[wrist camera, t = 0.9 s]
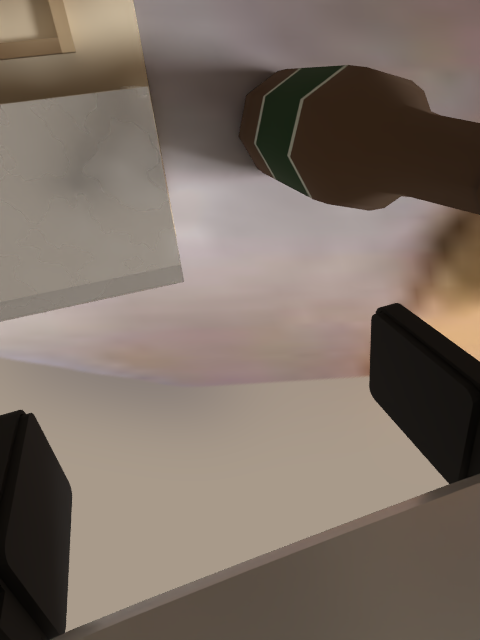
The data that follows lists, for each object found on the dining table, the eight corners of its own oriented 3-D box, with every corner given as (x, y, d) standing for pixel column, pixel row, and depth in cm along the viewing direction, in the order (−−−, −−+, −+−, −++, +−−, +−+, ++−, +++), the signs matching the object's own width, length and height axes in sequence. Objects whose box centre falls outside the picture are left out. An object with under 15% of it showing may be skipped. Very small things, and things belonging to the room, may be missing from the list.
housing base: (-293, -184, 20) (-337, -215, 18) (97, -183, 24) (98, -208, 22) (-61, 278, 32) (-72, 291, 30) (174, 232, 36) (179, 242, 34)
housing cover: (-132, 117, 26) (-220, 131, 19) (134, 85, 29) (148, 86, 22) (-51, 281, 32) (-94, 342, 24) (164, 239, 35) (184, 281, 27)
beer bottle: (244, 185, 36) (439, 317, 16) (226, 80, 32) (458, 78, 12) (329, 163, 37) (610, 259, 17) (322, 59, 33) (680, 24, 13)
